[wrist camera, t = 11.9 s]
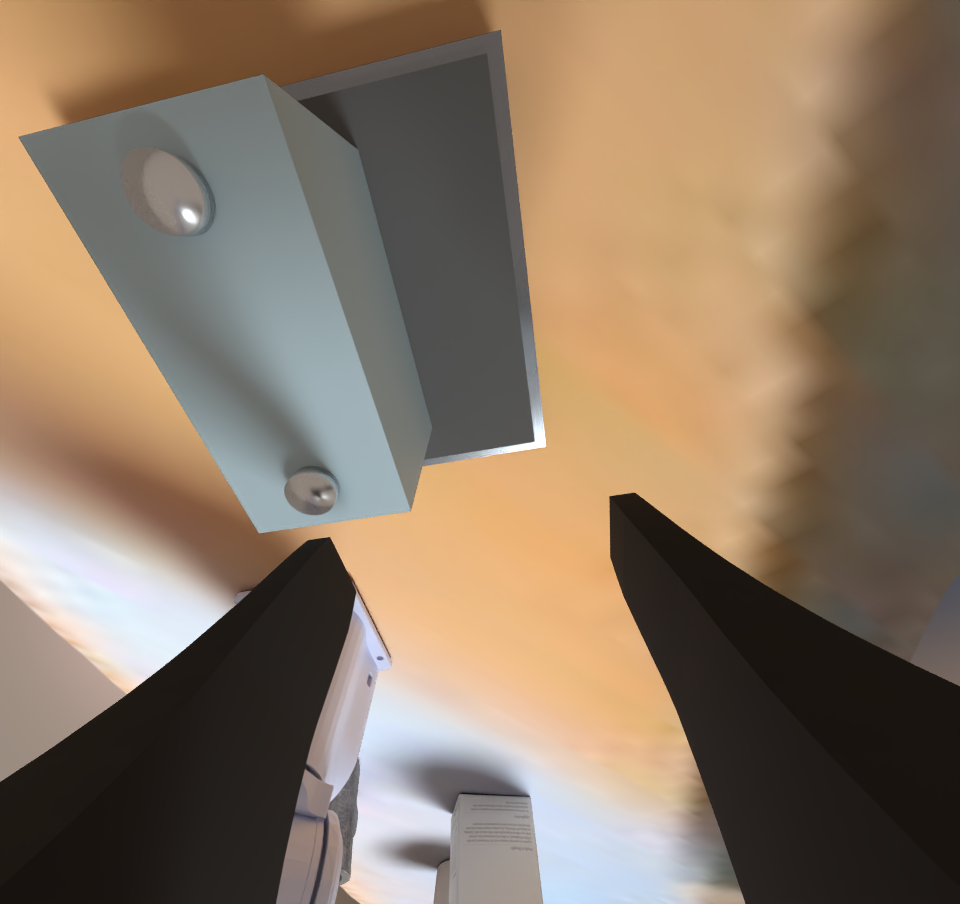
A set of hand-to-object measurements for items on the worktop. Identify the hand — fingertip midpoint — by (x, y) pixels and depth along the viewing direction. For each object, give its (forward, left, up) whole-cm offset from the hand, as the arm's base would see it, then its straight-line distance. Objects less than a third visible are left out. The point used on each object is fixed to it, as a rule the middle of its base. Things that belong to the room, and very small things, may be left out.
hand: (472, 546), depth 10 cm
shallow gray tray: (+5, +5, -10) cm, 12 cm away
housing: (+5, +5, -8) cm, 10 cm away
